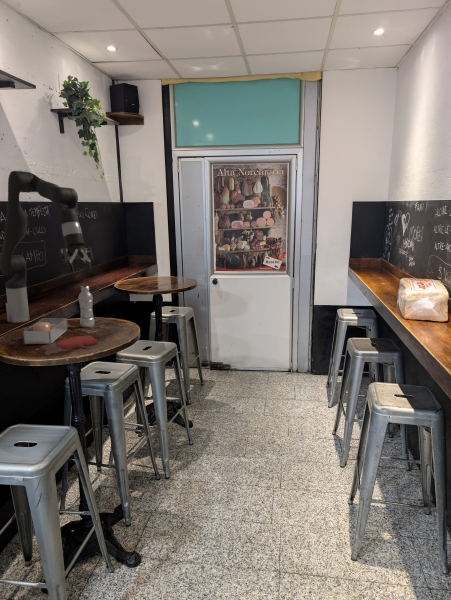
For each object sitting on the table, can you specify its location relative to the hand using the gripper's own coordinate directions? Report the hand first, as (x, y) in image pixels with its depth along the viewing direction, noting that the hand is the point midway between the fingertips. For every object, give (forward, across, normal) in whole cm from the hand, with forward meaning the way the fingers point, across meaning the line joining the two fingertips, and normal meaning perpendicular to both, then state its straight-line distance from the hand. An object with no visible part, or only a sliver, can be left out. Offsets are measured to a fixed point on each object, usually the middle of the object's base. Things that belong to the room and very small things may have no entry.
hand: (80, 272), depth 175 cm
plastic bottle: (+23, -17, -25) cm, 38 cm away
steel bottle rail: (+23, +4, -26) cm, 36 cm away
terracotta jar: (+24, +9, -23) cm, 35 cm away
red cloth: (+29, +3, -10) cm, 31 cm away
